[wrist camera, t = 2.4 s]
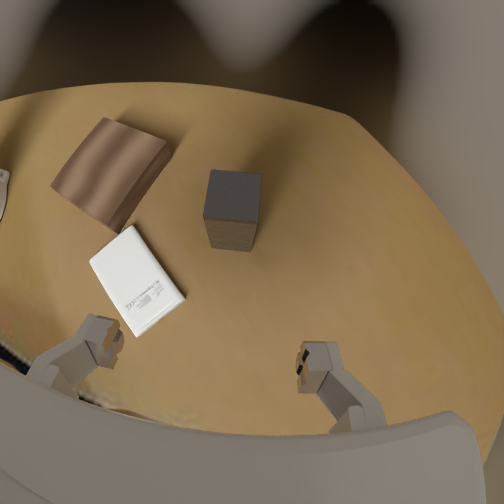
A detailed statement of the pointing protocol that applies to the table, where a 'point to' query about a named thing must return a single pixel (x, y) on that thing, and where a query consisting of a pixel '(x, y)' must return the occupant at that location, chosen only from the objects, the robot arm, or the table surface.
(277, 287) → the table surface
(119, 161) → the stand
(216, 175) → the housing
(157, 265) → the external hard drive
